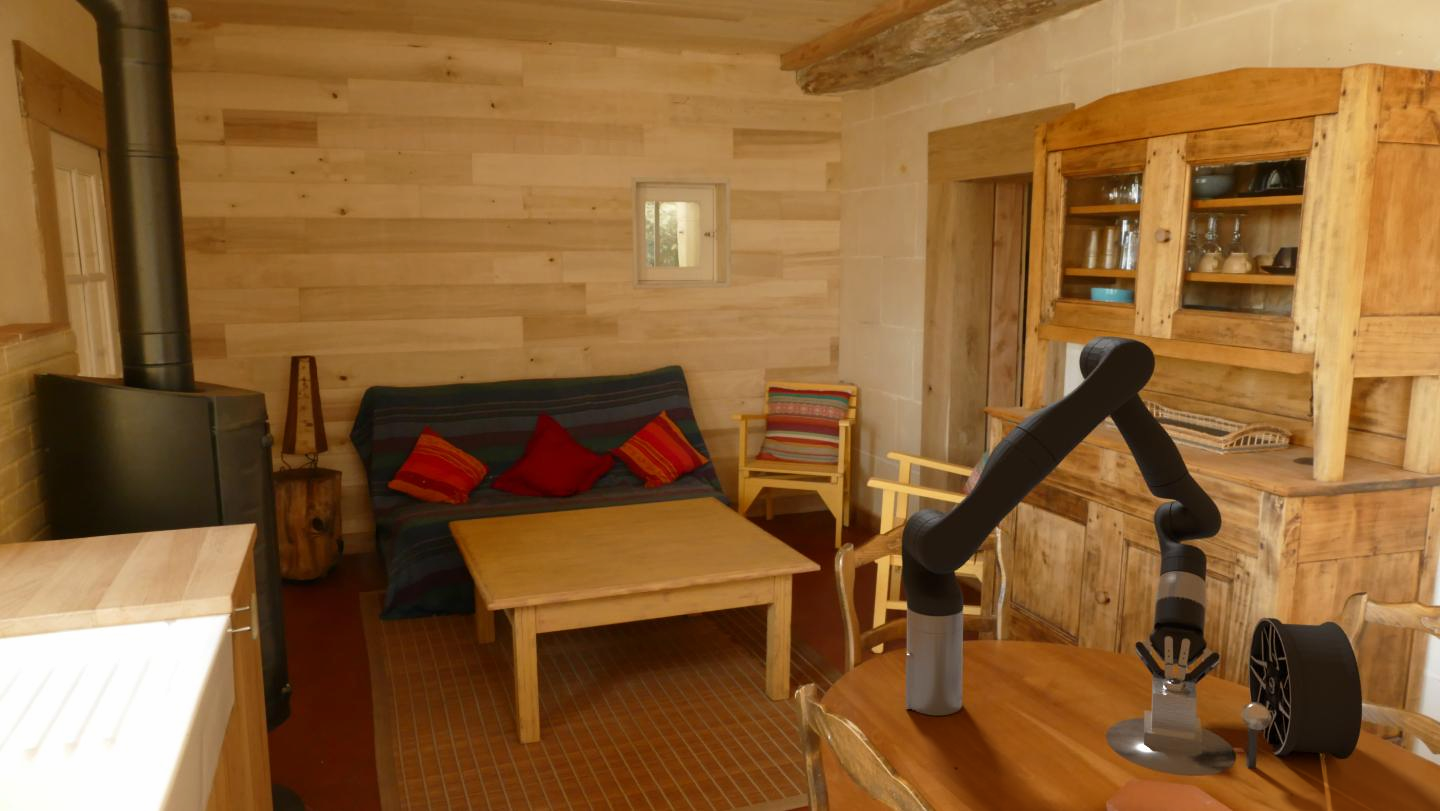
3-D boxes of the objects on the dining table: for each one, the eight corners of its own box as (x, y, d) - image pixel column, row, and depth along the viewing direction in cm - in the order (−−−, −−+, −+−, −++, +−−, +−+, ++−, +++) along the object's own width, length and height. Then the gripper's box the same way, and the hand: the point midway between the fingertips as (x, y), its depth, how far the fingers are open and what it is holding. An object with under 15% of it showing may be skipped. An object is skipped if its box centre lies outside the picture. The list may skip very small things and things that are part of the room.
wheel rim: (1245, 717, 165) (1252, 599, 162) (1307, 721, 163) (1315, 602, 160) (1286, 780, 146) (1294, 647, 143) (1357, 786, 144) (1367, 651, 141)
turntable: (1116, 772, 148) (1116, 769, 148) (1097, 716, 165) (1097, 713, 165) (1262, 784, 144) (1262, 780, 144) (1227, 725, 161) (1227, 722, 161)
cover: (1143, 744, 155) (1146, 687, 153) (1143, 721, 162) (1146, 667, 160) (1202, 753, 152) (1205, 695, 150) (1199, 729, 159) (1202, 673, 157)
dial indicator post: (1240, 779, 146) (1244, 705, 145) (1234, 768, 149) (1238, 695, 148) (1267, 781, 146) (1272, 706, 144) (1260, 770, 149) (1265, 697, 147)
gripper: (1136, 589, 169) (1126, 689, 160) (1225, 600, 163) (1220, 704, 154) (1138, 610, 174) (1128, 707, 165) (1224, 621, 168) (1219, 722, 159)
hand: (1172, 705), depth 159 cm, fingers closed
